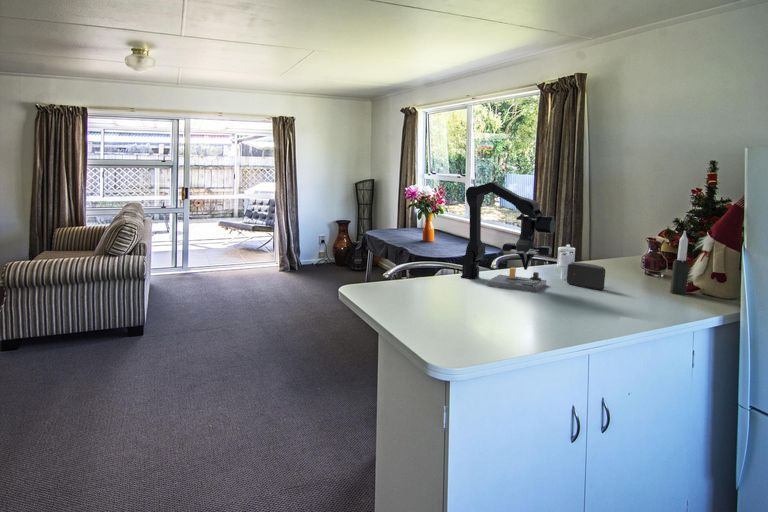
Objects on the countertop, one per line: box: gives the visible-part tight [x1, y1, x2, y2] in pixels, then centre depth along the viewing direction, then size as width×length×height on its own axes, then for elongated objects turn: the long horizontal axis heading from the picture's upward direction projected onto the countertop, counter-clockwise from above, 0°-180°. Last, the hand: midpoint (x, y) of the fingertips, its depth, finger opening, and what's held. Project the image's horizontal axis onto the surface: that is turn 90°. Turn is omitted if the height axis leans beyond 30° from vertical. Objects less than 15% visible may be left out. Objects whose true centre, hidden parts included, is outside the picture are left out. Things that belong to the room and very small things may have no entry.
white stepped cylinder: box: [556, 244, 576, 281], centre depth 233 cm, size 7×7×15 cm
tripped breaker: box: [506, 267, 518, 280], centre depth 220 cm, size 4×3×5 cm
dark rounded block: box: [566, 261, 607, 291], centre depth 220 cm, size 16×5×9 cm, turn 41°
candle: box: [669, 230, 690, 295], centre depth 210 cm, size 5×5×25 cm
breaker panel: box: [486, 271, 547, 293], centre depth 220 cm, size 20×16×5 cm
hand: (525, 269), depth 217 cm, fingers closed
